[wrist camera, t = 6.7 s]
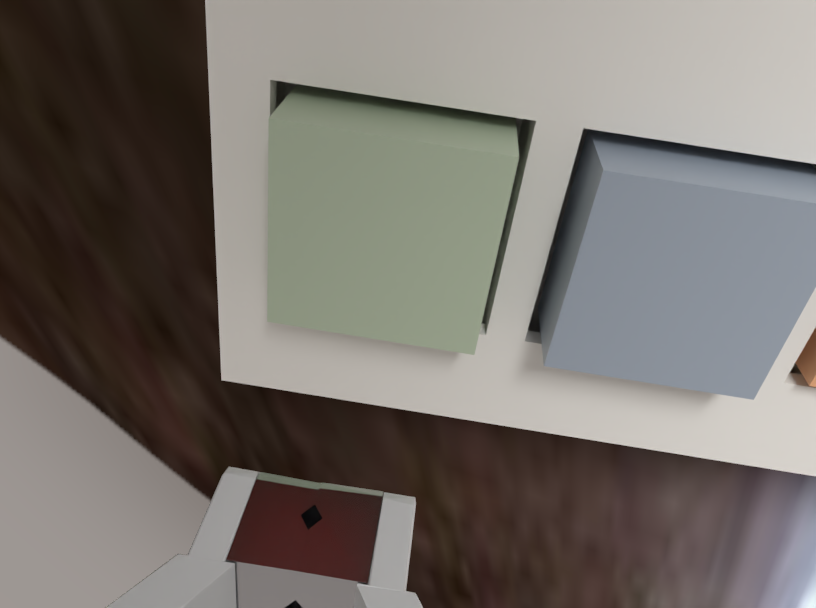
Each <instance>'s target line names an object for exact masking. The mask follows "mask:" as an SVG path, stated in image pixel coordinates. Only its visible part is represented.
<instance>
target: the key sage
mask: <svg viewBox="0 0 816 608" xmlns="http://www.w3.org/2000/svg"><path fill="white" fill-rule="evenodd" d="M518 161H519V149H518V138H517V127H516V118H514V117H508V116H501V115H495V114H488V113H482V112H475V111H469V110H462V109H456V108H449V107H443V106H437V105H430V104H424V103H417V102H411V101H404V100H398V99H391V98H385V97H378V96H372V95H365V94H359V93H353V92H346V91H340V90H333V89H327V88H320V87H314V86H307V85H301V84H297V85H296V86H295V87H294V88H293V89H292V91H291V92H290V93H289V94H288V95H287V97H286V98H285V99H284V100H283V101H282V103H281V104H280V105H279V106H278V107H277V109H276V110H275V111H274V112H273V113H272V115H271V116H270V117H269V126H268V276H267V322H272V323H278V324H284V325H290V326H297V327H303V328H309V329H315V330H322V331H328V332H334V333H340V334H346V335H353V336H359V337H365V338H371V339H378V340H384V341H390V342H396V343H403V344H409V345H415V346H421V347H428V348H434V349H440V350H446V351H452V352H459V353H465V354H471V355H474V354H475V350H476V346H477V341H478V337H479V332H480V328H481V323H482V319H483V315H484V310H485V306H486V301H487V297H488V293H489V288H490V284H491V279H492V275H493V271H494V266H495V262H496V257H497V253H498V249H499V244H500V240H501V235H502V231H503V227H504V222H505V218H506V213H507V209H508V205H509V200H510V196H511V191H512V187H513V183H514V178H515V174H516V169H517V165H518Z"/></svg>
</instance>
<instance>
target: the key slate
mask: <svg viewBox="0 0 816 608" xmlns="http://www.w3.org/2000/svg"><path fill="white" fill-rule="evenodd" d="M815 288H816V168H815V167H814V166H813V165H812V164H811V163H805V162H798V161H792V160H785V159H779V158H773V157H766V156H760V155H753V154H747V153H740V152H734V151H727V150H721V149H714V148H708V147H701V146H695V145H689V144H682V143H676V142H669V141H663V140H656V139H650V138H643V137H637V136H630V135H624V134H617V133H611V132H605V131H598V130H592V129H588V131H587V134H586V138H585V141H584V145H583V148H582V152H581V155H580V159H579V163H578V166H577V170H576V173H575V177H574V180H573V184H572V188H571V191H570V195H569V198H568V202H567V205H566V209H565V212H564V216H563V220H562V223H561V227H560V230H559V234H558V237H557V241H556V245H555V248H554V252H553V255H552V259H551V262H550V266H549V270H548V273H547V277H546V280H545V284H544V287H543V291H542V294H541V298H540V302H539V305H538V314H539V324H540V333H541V343H542V353H543V363H544V366H546V367H552V368H558V369H565V370H571V371H577V372H583V373H590V374H596V375H602V376H608V377H614V378H621V379H627V380H633V381H639V382H646V383H652V384H658V385H664V386H671V387H677V388H683V389H689V390H696V391H702V392H708V393H714V394H720V395H727V396H733V397H739V398H745V399H752V400H754V398H755V397H756V395H757V393H758V391H759V389H760V387H761V386H762V384H763V382H764V380H765V378H766V377H767V375H768V373H769V371H770V369H771V367H772V366H773V364H774V362H775V360H776V358H777V357H778V355H779V353H780V351H781V349H782V348H783V346H784V344H785V342H786V340H787V338H788V337H789V335H790V333H791V331H792V329H793V328H794V326H795V324H796V322H797V320H798V318H799V317H800V315H801V313H802V311H803V309H804V308H805V306H806V304H807V302H808V300H809V298H810V297H811V295H812V293H813V291H814V289H815Z"/></svg>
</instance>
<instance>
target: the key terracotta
mask: <svg viewBox="0 0 816 608" xmlns="http://www.w3.org/2000/svg"><path fill="white" fill-rule="evenodd" d="M795 363H796V365H797V366H798V368H799V370H800V371H801V373H802V375H803V376H804V378H805V380H806V381H807V383H808V385H809V386H813V387H816V327H815V329H814V331H813V333H812V334H811V336H810V338H809V340H808V341H807V343H806V345H805V347H804V348H803V350H802V352H801V354H800V355H799V357H798V359H797V361H796V362H795Z"/></svg>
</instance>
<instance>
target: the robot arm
mask: <svg viewBox="0 0 816 608" xmlns="http://www.w3.org/2000/svg"><path fill="white" fill-rule="evenodd" d="M382 497H383V499H382ZM381 505H382V506H381ZM415 508H416V500H415V497H410V496H404V495H398V494H391V493H385V492H384V494H383V491H376V490H370V489H363V488H356V487H349V486H343V485H336V484H329V483H322V484H321V483H316V482H311V481H305V480H300V479H295V478H290V477H284V476H279V475H274V474H268V473H263V472H257V471H251V470H245V469H240V468H234V467H228V468H227V470H226V471H225V472H224V473H223V475H222V477H221V479H220V481H219V484H218V486H217V488H216V491H215V493H214V495H213V497H212V500H211V502H210V504H209V507H208V509H207V511H206V514H205V516H204V518H203V521H202V523H201V525H200V528H199V530H198V532H197V534H196V537H195V539H194V541H193V544H192V546H191V548H190V551H189V553H188V555H183V554H177V555H176V556H174V557H173V558H172V559H170V560H169V561H168V562H166V563H165V564H164V565H162V566H161V567H160V568H158V569H157V570H155V571H154V572H153V573H151V574H150V575H149V576H147V577H146V578H145V579H143V580H142V581H141V582H139V583H138V584H137V585H135V586H134V587H133V588H131V589H130V590H129V591H127V592H126V593H125V594H123V595H122V596H121V597H119V598H118V599H117V600H115V601H114V602H112V603H111V604H110V605H108V606H107V607H106V608H423V607H422V605H421V603H420V601H419V599H418V597H417V595H416V593H413V592H408V591H406V586H407V578H408V569H409V560H410V551H411V543H412V534H413V525H414V516H415Z"/></svg>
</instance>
